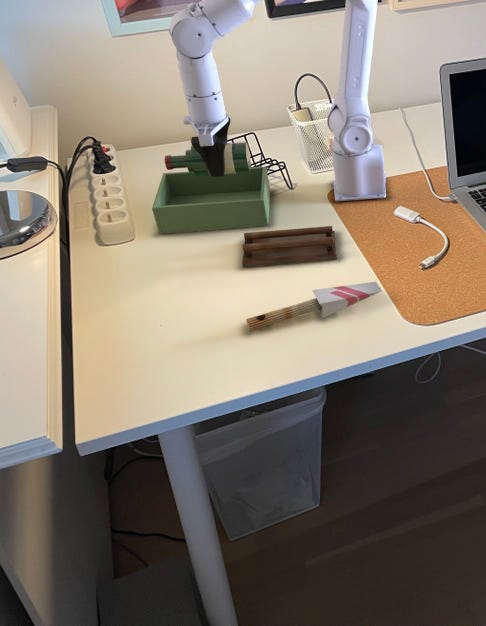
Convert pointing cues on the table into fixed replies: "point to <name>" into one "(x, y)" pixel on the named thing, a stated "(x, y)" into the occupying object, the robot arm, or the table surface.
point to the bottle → (233, 157)
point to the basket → (212, 201)
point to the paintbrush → (318, 304)
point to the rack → (289, 246)
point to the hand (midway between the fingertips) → (219, 168)
